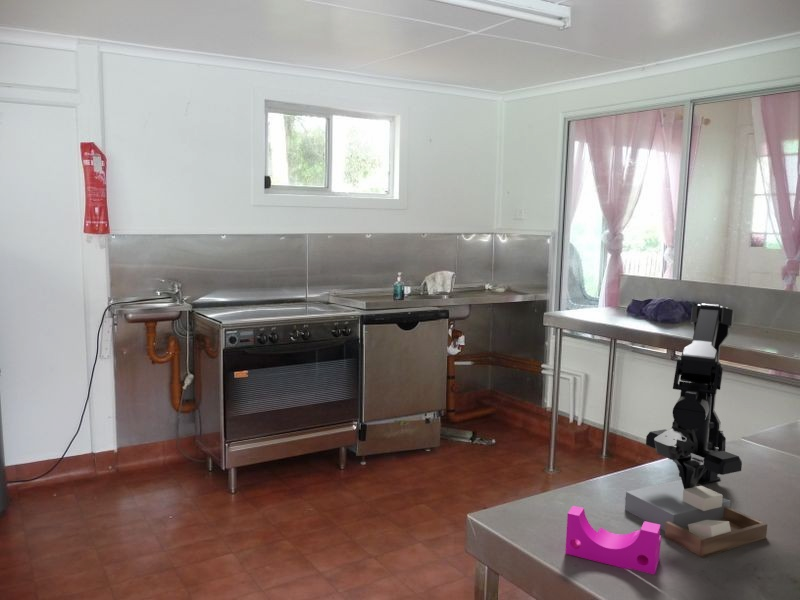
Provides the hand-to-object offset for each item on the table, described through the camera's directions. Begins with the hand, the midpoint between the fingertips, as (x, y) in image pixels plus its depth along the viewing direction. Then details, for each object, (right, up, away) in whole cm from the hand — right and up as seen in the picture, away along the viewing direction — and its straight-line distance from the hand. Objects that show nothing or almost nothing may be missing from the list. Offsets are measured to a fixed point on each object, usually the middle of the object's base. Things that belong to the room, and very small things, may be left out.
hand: (688, 491), depth 136 cm
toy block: (-20, -7, -16) cm, 27 cm away
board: (-2, -5, +1) cm, 5 cm away
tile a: (-1, -3, -11) cm, 11 cm away
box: (+1, -6, -9) cm, 11 cm away
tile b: (+1, -2, -3) cm, 4 cm away
